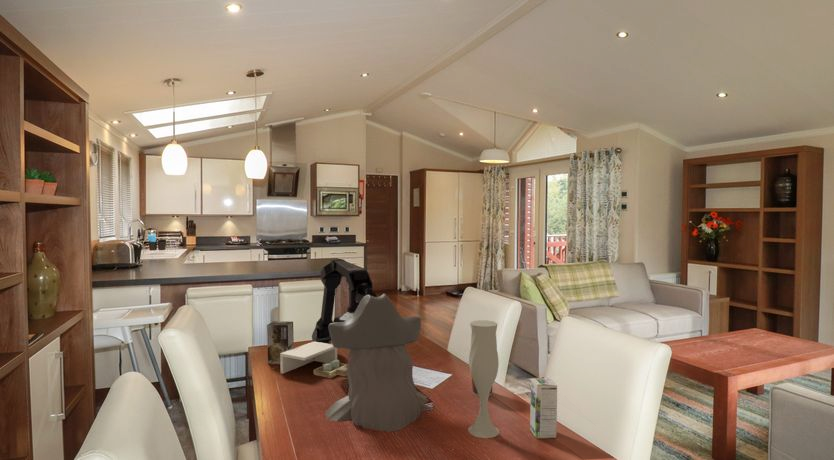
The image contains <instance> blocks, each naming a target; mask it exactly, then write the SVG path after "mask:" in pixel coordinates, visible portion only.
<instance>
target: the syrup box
mask: <svg viewBox="0 0 834 460" xmlns="http://www.w3.org/2000/svg"><path fill="white" fill-rule="evenodd" d="M529 407H530V408H529V409H530V411H529V414H530V415H529V418H530V419H529V423H530V424H529V430H530V431H531V433H532V434H533V436H534V437H535V438H536V439H552V438H554V439H555V438H557V428H558V427H557V421H558V420H557V419H558V416H557V415H558V411H557V410H558V385H557V384H556V383H555V381H553V380H552V379H551V378H547V377H535V378H531V379H530V406H529Z"/></svg>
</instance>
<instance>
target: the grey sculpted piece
mask: <svg viewBox="0 0 834 460" xmlns="http://www.w3.org/2000/svg"><path fill="white" fill-rule="evenodd" d="M421 327H422V319H421V317H419V316H408V317H407V316H402V315H401V314H400V312H399V311H398V310H397V308H396V307H395V305H394V303H393V302H392V300H391V299H390V297H389V296H388V295H387V294H386V293H382V294H381V295H380V296H377V297H373V296H371V295H366V296H364V297H363V298H362V300H361V301H360V303H359V305H358V307H357V309H356V311H355V312H354V314H353V315H352V316H351V317H350V318H349V319H348V320H347V321H345V322H334V323H331V324H329V325H328V329H329V333H330V337H331V344H333V347H334V348H337V349H346V350H347V349H348V350H349V355H348V361H347V363H346V364H347V376H346V378H347V380H348V385H349V386H348V387H349V388H348V392H347V393H348V394H347V395H346V396H344V397H342V398H340V399H338V400H337V401H335V402H333V403H332V405H330V406H329V407H328V408H327V409H326V410H325V411H324V414H325V416H326V420H328V421H334V422H343V421H349V420H352V422H353V424H354V426H356V427H362V429H364V430H367V429H368V430H375V431H379V432H389V433H390V432H395V431H400V430H401V429H404V428H406V427H407V426H409V425H410V424H411V423H413V422H414V423H415V422H417V419H418V418H420V414H421V411H423V410H429V409H431V408H432V407H429V406H427V405H425V404H424V403H425V402H426V400H427V399H426V398H428V397H427V396H426V395H424V394H423V393H422V392H420V391H418V390H417V389H416V388H417V387H416V385H415V382H414V377H413V368H414V366H413V365H414V362H413V358H412V356H411V354H410V353H409V351H408V349H407V346H406V345H408V344H412V343H415V342H418V341H419V338H420V334H421ZM432 404H433V406H434V405H435V404H434V403H433V402H432Z"/></svg>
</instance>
